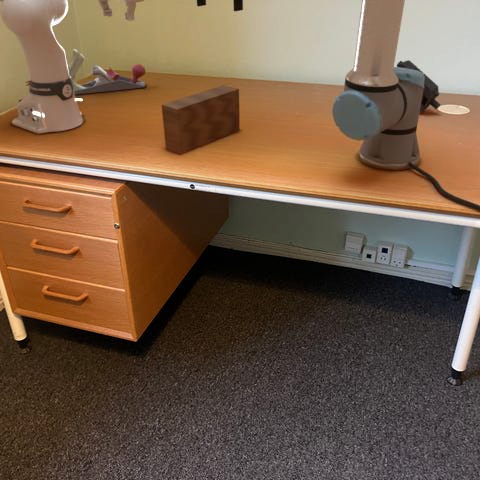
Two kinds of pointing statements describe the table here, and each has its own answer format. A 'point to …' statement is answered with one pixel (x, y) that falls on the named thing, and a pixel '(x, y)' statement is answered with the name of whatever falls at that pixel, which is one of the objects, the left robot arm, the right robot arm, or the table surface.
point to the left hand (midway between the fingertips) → (118, 18)
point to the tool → (429, 88)
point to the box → (201, 118)
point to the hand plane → (104, 78)
